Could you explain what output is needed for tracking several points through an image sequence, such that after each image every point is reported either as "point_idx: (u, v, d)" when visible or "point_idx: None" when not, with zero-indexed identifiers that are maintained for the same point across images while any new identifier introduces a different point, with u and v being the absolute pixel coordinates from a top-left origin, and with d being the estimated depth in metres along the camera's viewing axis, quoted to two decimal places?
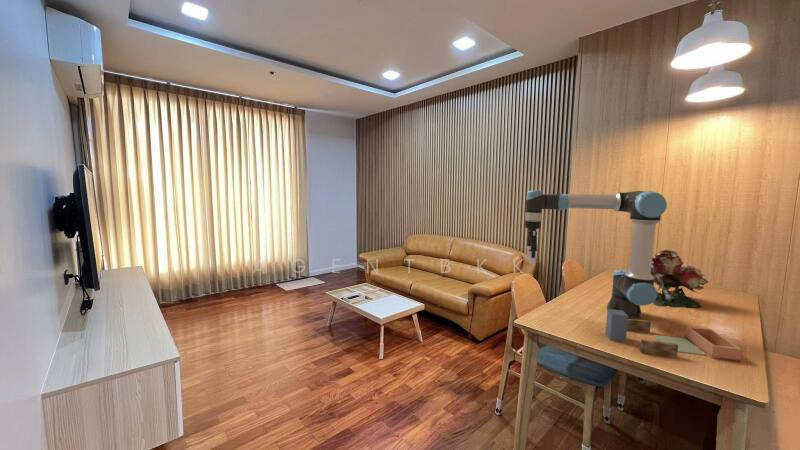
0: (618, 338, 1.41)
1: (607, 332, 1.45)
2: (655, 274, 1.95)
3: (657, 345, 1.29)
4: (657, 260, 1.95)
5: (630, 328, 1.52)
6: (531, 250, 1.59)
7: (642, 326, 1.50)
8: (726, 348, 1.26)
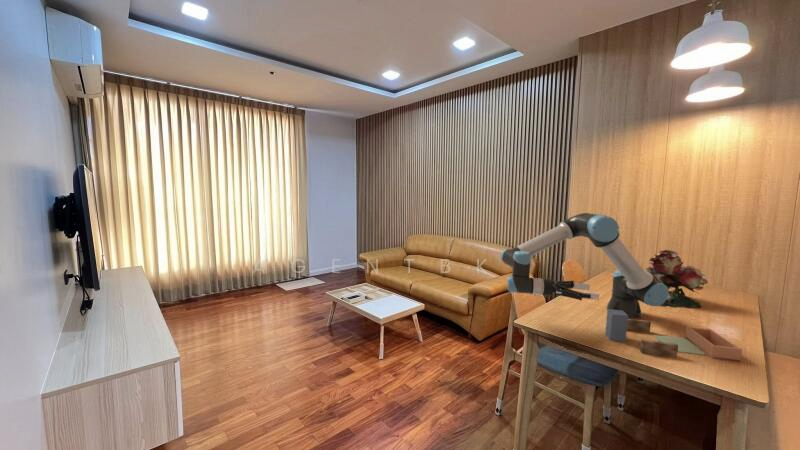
0: (618, 338, 1.41)
1: (607, 332, 1.45)
2: (655, 274, 1.95)
3: (657, 345, 1.29)
4: (657, 260, 1.95)
5: (630, 328, 1.52)
6: (580, 299, 1.37)
7: (642, 326, 1.50)
8: (726, 348, 1.26)
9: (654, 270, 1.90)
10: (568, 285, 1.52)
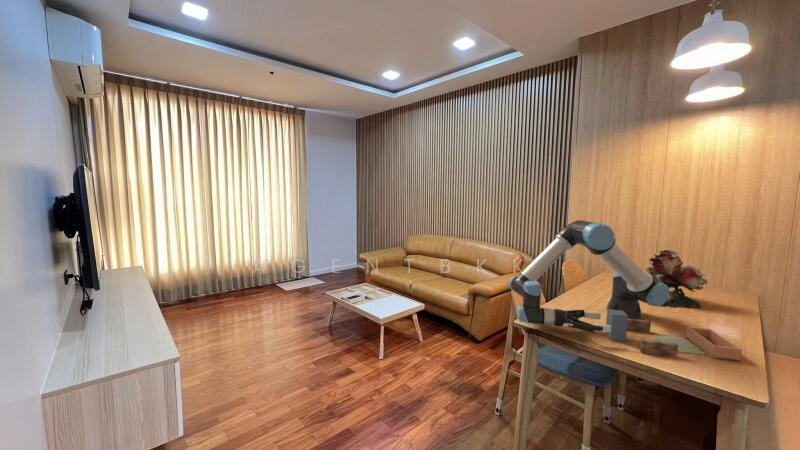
0: (618, 338, 1.41)
1: (607, 332, 1.45)
2: (655, 274, 1.95)
3: (657, 345, 1.29)
4: (656, 260, 1.95)
5: (630, 328, 1.52)
6: (593, 332, 1.37)
7: (642, 326, 1.50)
8: (726, 348, 1.26)
9: (654, 270, 1.90)
10: (579, 315, 1.52)
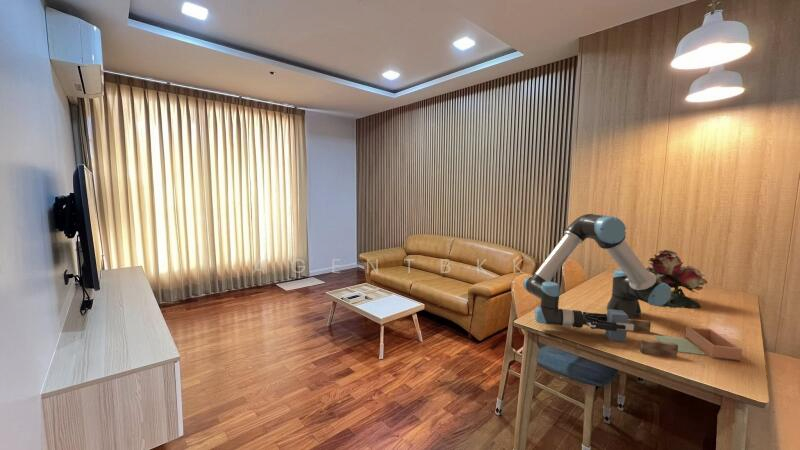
0: (618, 337, 1.41)
1: (607, 332, 1.45)
2: None
3: (657, 345, 1.29)
4: (656, 260, 1.95)
5: None
6: (615, 330, 1.38)
7: (642, 326, 1.50)
8: (726, 348, 1.26)
9: (654, 270, 1.89)
10: (602, 318, 1.47)
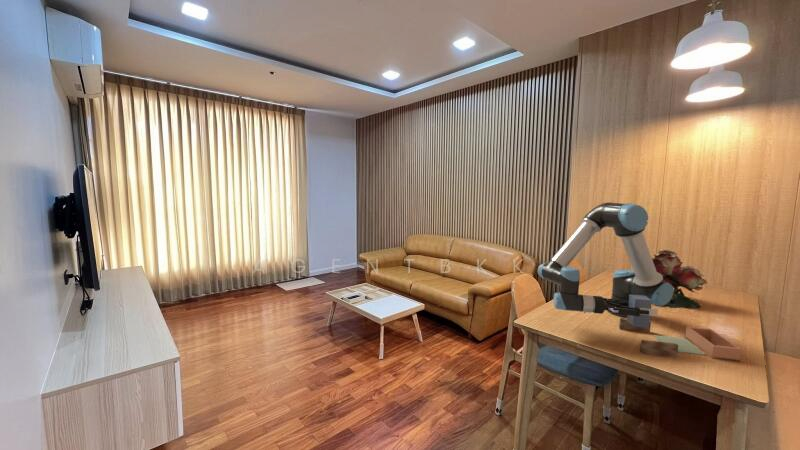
0: (641, 323, 1.37)
1: (629, 318, 1.41)
2: None
3: (657, 345, 1.29)
4: (656, 260, 1.94)
5: (630, 328, 1.52)
6: None
7: None
8: (726, 348, 1.26)
9: None
10: (623, 304, 1.43)
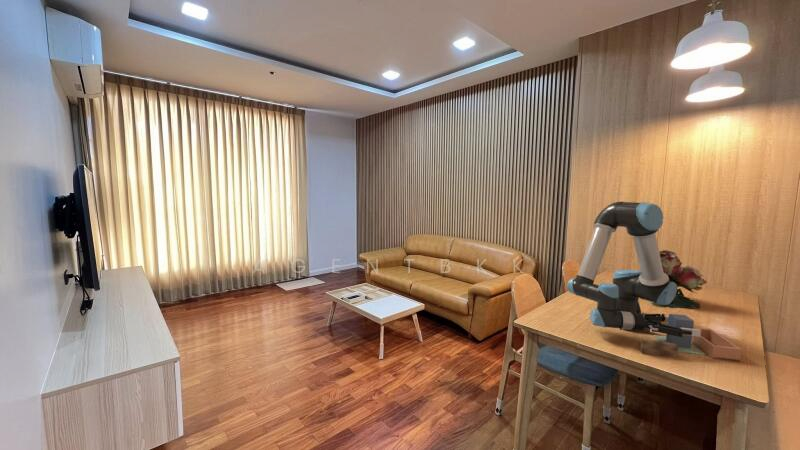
0: (682, 344, 1.35)
1: (669, 338, 1.39)
2: None
3: (657, 345, 1.29)
4: None
5: None
6: None
7: None
8: (726, 348, 1.26)
9: None
10: (659, 319, 1.43)
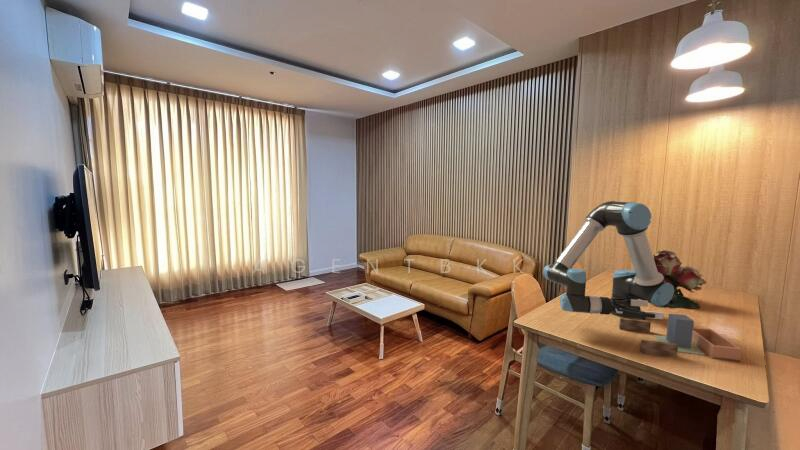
0: (682, 344, 1.35)
1: (669, 338, 1.39)
2: None
3: (657, 345, 1.29)
4: (655, 261, 1.94)
5: (630, 328, 1.52)
6: (645, 319, 1.31)
7: (642, 326, 1.50)
8: (726, 348, 1.26)
9: None
10: (625, 302, 1.46)
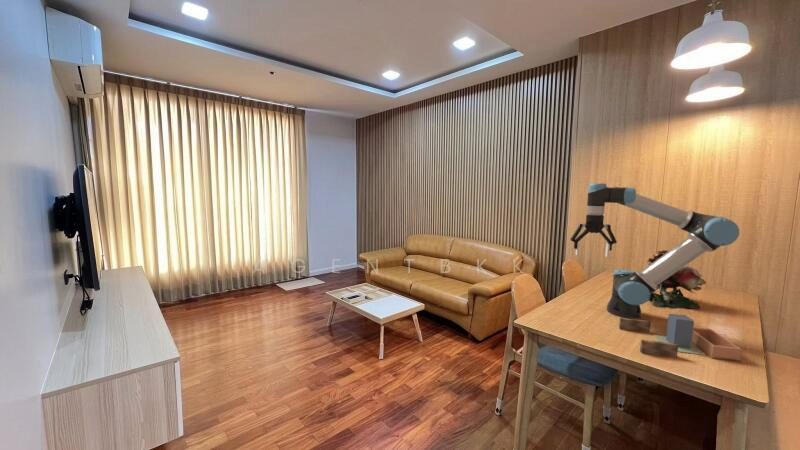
0: (682, 344, 1.35)
1: (669, 338, 1.39)
2: None
3: (657, 345, 1.29)
4: None
5: (630, 328, 1.52)
6: (571, 240, 1.67)
7: (642, 326, 1.50)
8: (726, 348, 1.26)
9: None
10: (605, 238, 1.62)
